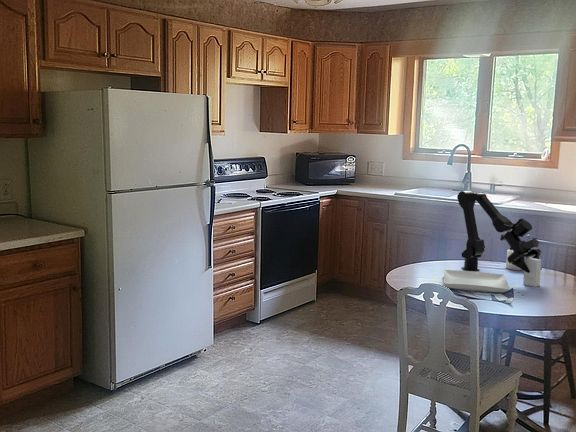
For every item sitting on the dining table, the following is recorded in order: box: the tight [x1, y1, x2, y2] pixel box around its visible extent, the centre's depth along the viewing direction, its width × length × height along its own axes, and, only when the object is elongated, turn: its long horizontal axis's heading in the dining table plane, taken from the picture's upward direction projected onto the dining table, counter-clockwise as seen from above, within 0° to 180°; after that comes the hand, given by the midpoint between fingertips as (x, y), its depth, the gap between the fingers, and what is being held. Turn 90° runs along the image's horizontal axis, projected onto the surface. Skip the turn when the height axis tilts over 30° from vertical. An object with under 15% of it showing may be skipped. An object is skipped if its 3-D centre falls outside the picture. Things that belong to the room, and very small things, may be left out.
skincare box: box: [522, 257, 542, 288], centre depth 267 cm, size 6×4×12 cm
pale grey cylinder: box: [505, 248, 523, 271], centre depth 300 cm, size 8×8×9 cm
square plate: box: [442, 269, 510, 293], centre depth 264 cm, size 27×27×4 cm
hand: (535, 271), depth 266 cm, fingers open, 9 cm apart
